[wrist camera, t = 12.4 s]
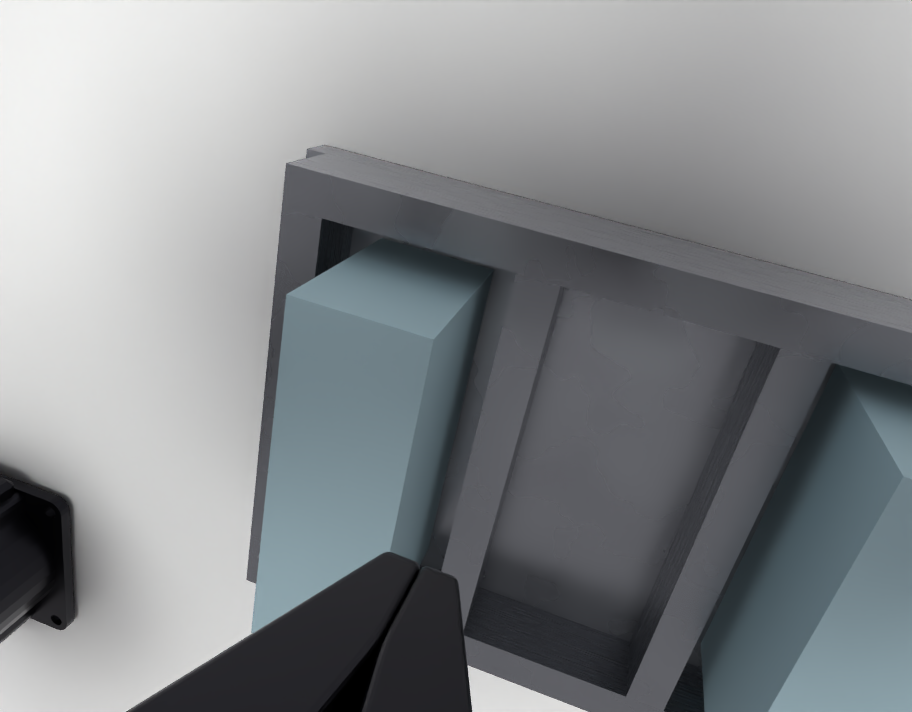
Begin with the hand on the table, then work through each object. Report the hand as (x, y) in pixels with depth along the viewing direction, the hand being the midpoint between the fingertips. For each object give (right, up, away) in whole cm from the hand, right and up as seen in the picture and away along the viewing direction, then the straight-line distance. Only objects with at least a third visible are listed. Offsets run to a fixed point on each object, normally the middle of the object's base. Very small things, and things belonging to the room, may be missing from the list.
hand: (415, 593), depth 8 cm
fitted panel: (-1, +1, +12) cm, 12 cm away
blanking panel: (+10, -2, +10) cm, 14 cm away
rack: (+5, 0, +12) cm, 13 cm away
